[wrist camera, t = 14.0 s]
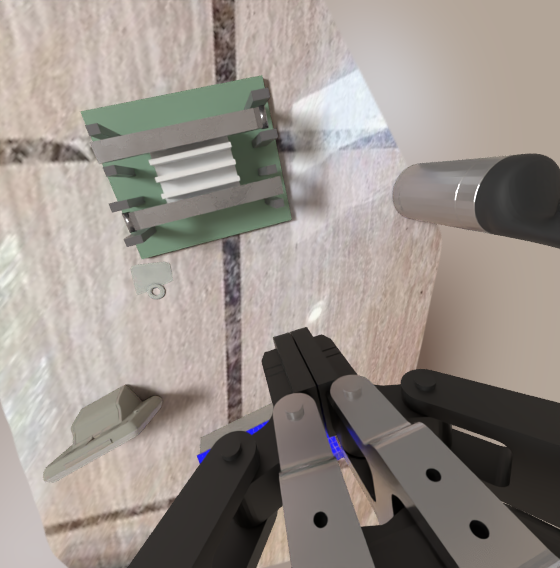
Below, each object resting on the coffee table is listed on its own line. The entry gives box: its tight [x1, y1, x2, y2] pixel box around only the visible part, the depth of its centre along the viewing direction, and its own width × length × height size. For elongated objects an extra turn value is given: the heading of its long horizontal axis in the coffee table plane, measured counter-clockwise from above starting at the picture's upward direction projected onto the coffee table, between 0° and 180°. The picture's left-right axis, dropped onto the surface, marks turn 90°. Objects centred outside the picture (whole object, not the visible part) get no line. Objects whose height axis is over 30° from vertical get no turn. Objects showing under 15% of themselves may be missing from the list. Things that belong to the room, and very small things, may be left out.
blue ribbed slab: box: [197, 403, 344, 463], centre depth 59 cm, size 19×25×10 cm
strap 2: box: [122, 176, 284, 233], centre depth 37 cm, size 20×2×1 cm, turn 102°
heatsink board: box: [81, 75, 292, 259], centre depth 39 cm, size 24×20×10 cm
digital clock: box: [43, 385, 163, 483], centre depth 48 cm, size 16×9×11 cm, turn 105°
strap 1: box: [90, 105, 269, 164], centre depth 34 cm, size 20×2×1 cm, turn 102°
